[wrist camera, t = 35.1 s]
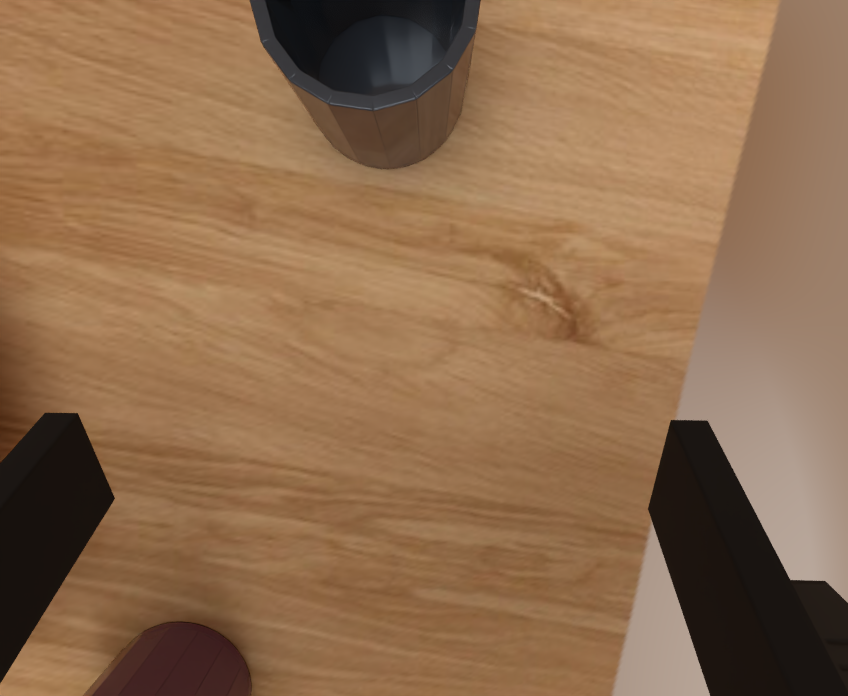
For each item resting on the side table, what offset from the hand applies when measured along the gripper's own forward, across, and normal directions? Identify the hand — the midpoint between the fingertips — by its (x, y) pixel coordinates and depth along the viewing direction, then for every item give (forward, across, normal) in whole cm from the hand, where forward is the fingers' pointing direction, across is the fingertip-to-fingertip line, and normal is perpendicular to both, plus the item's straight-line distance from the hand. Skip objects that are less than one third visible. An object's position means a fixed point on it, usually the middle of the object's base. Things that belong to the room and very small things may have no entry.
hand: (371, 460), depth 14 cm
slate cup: (+21, +2, -4) cm, 22 cm away
